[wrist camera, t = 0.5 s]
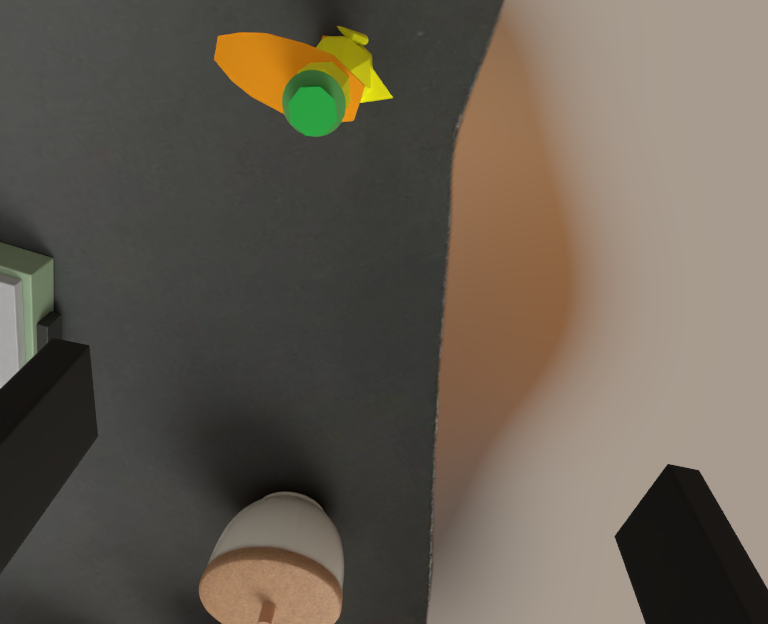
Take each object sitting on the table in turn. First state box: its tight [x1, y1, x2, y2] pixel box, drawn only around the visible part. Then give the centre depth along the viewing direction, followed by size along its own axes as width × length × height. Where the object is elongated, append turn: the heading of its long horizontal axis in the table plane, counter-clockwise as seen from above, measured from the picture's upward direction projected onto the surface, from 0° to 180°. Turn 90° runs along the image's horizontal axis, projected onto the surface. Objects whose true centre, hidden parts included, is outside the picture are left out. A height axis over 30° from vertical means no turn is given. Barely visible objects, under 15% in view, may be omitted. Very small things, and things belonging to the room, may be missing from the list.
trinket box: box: [199, 492, 344, 624], centre depth 42 cm, size 11×11×9 cm
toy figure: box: [214, 26, 393, 137], centre depth 22 cm, size 7×4×12 cm, turn 70°
